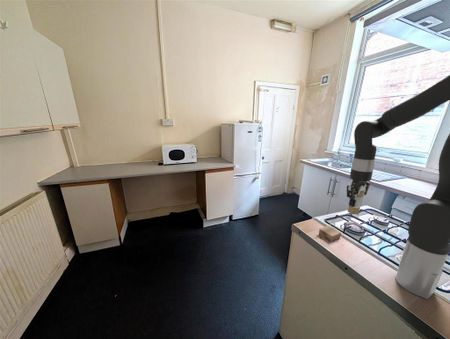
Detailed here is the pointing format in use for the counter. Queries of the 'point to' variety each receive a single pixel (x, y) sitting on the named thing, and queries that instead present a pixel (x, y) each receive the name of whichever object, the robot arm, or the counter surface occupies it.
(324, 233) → the walnut block
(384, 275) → the counter surface
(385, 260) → the counter surface
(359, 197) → the sprinkles bottle
